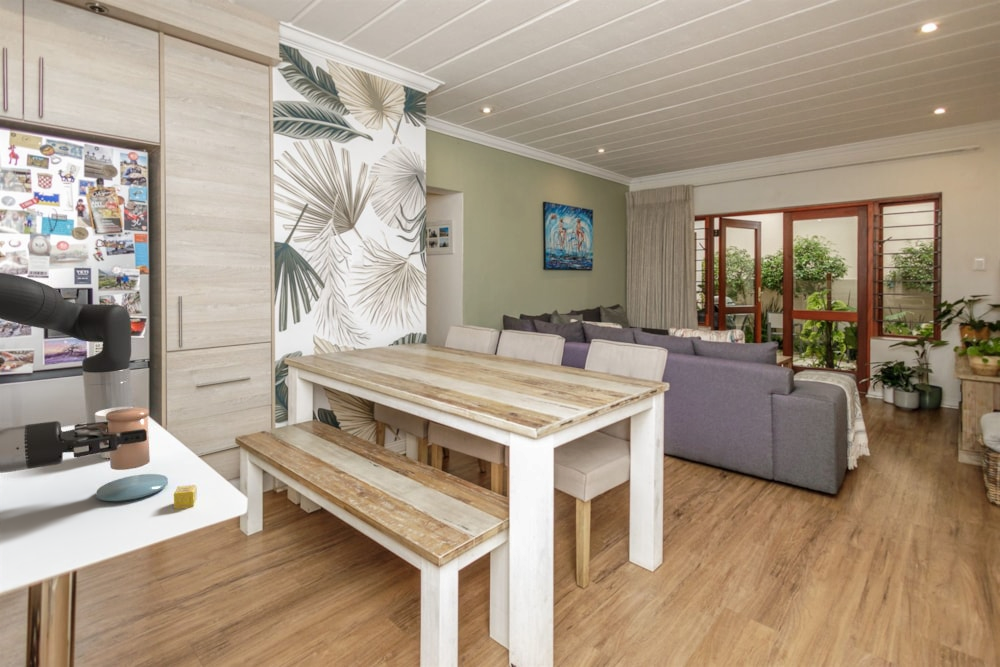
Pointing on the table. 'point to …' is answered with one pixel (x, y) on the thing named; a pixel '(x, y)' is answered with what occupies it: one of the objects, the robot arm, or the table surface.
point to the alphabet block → (185, 496)
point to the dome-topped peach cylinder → (134, 452)
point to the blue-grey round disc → (132, 487)
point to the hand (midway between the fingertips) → (144, 430)
